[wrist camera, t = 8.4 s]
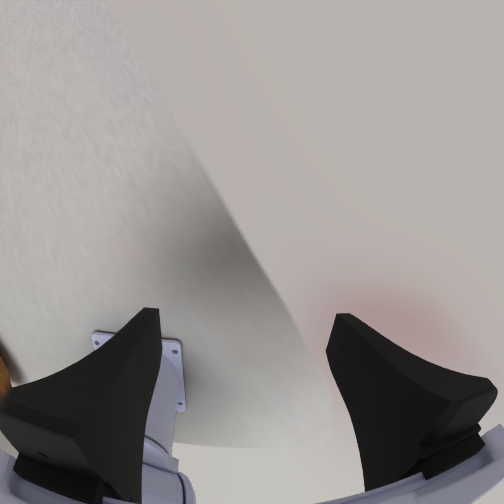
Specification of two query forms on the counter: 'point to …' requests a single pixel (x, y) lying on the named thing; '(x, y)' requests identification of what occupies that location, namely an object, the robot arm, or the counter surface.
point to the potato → (4, 381)
